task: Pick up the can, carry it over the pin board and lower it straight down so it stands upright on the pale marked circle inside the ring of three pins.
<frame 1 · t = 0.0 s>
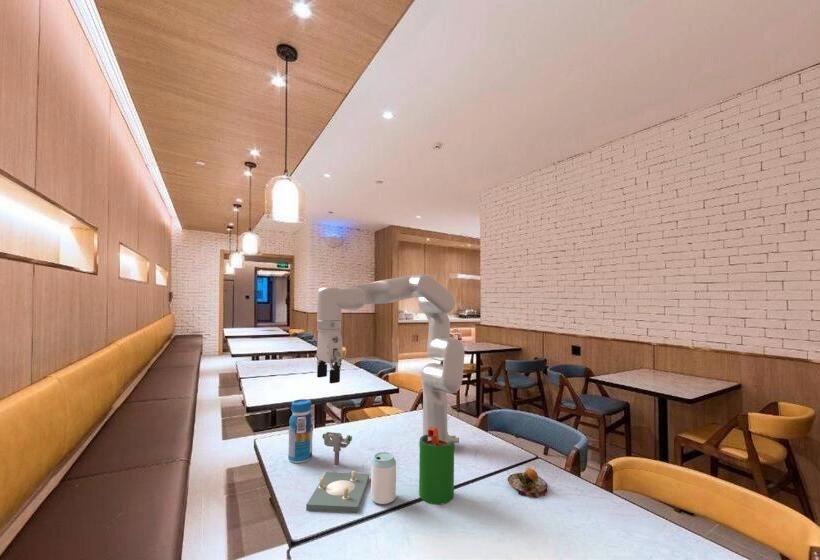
hand: (328, 379, 114), 31 cm above the table, tool pointing down, fingers open, 9 cm apart
can: (383, 499, 102), on the table
beverage bottle: (300, 459, 127), on the table
motor: (435, 496, 104), on the table
pin board: (340, 493, 105), on the table
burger: (527, 488, 109), on the table
mechanical component: (336, 464, 123), on the table
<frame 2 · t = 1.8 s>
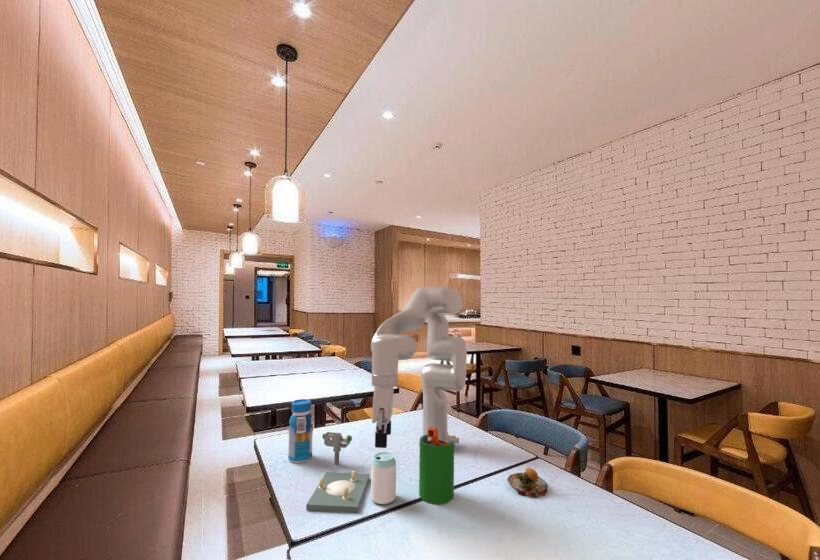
hand: (383, 440, 102), 17 cm above the table, tool pointing down, fingers open, 9 cm apart
nothing on the table moved.
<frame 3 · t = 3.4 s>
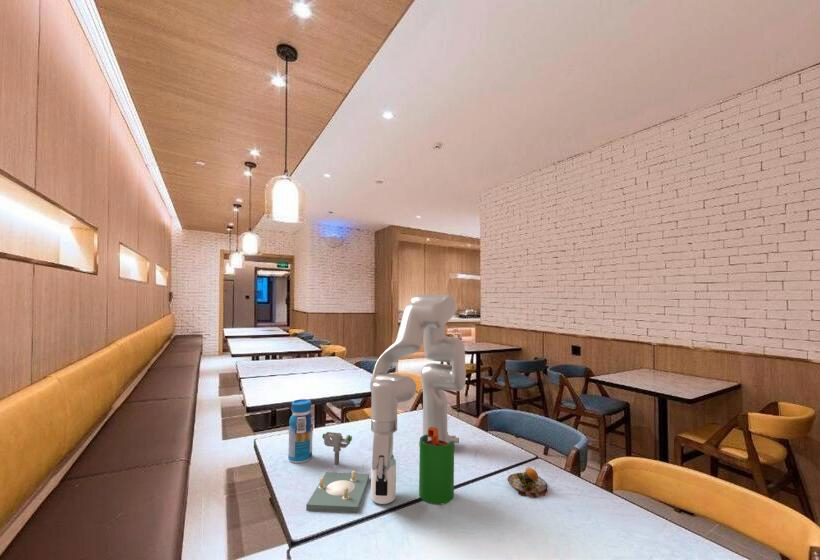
hand: (383, 487, 102), 3 cm above the table, tool pointing down, fingers closed on can, 7 cm apart
can: (383, 499, 102), on the table, touching gripper
everything else where it was.
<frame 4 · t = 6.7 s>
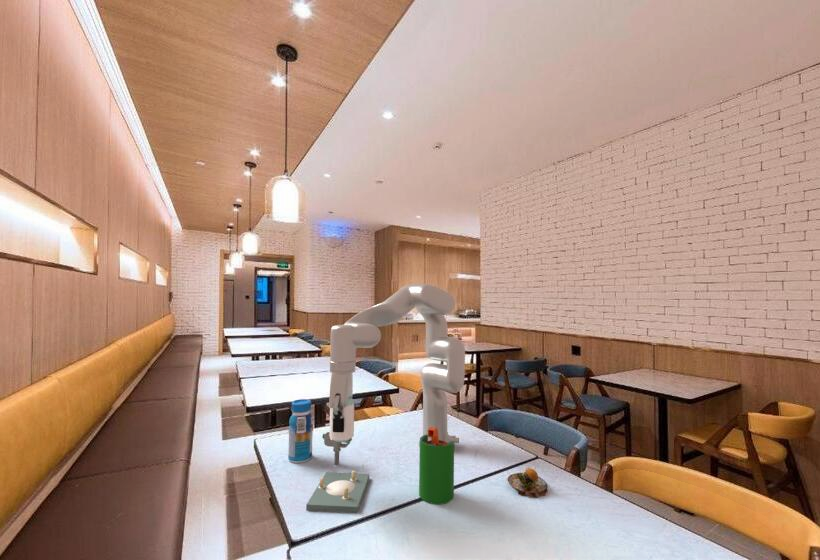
hand: (341, 426, 106), 19 cm above the table, tool pointing down, fingers closed on can, 7 cm apart
can: (341, 438, 106), point 16 cm above the table, touching gripper
everything else where it was.
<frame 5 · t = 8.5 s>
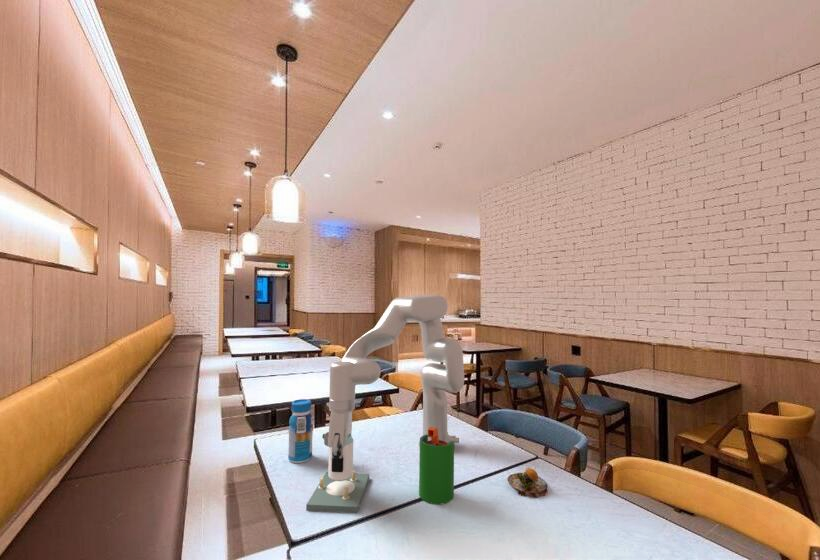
hand: (340, 464, 105), 8 cm above the table, tool pointing down, fingers closed on can, 7 cm apart
can: (340, 477, 105), point 5 cm above the table, touching gripper
everything else where it was.
when the fingers open (6 cm above the table, at t = 10.0 s): can stays where it is, resting on pin board.
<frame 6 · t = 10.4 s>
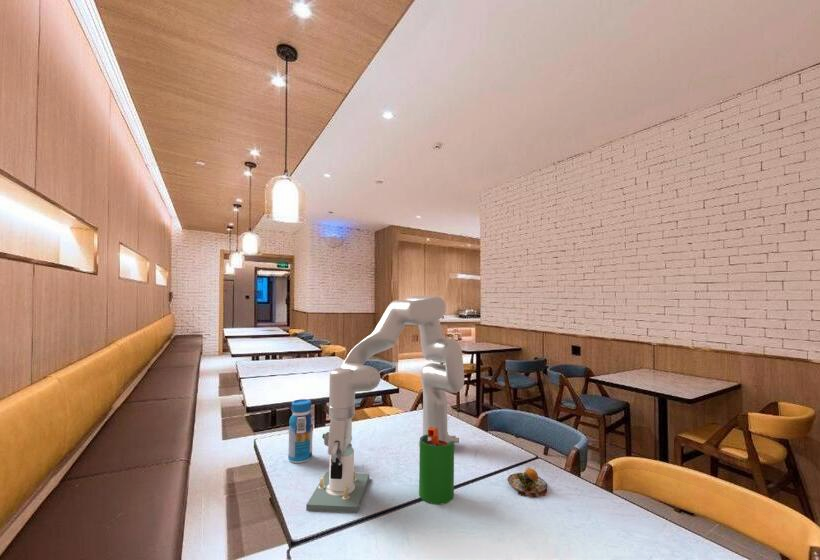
hand: (340, 470, 105), 7 cm above the table, tool pointing down, fingers open, 9 cm apart
can: (341, 487, 105), point 1 cm above the table, touching pin board
everything else where it was.
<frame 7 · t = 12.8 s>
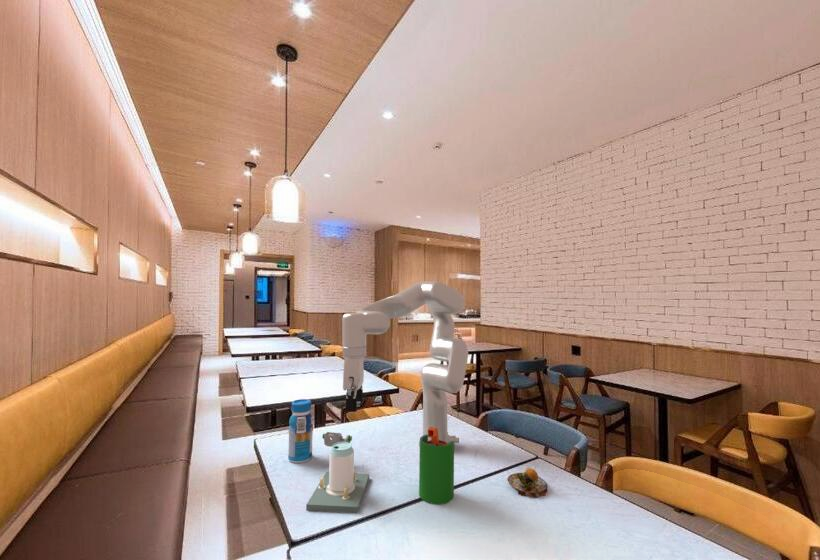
hand: (354, 406, 113), 23 cm above the table, tool pointing down, fingers open, 9 cm apart
nothing on the table moved.
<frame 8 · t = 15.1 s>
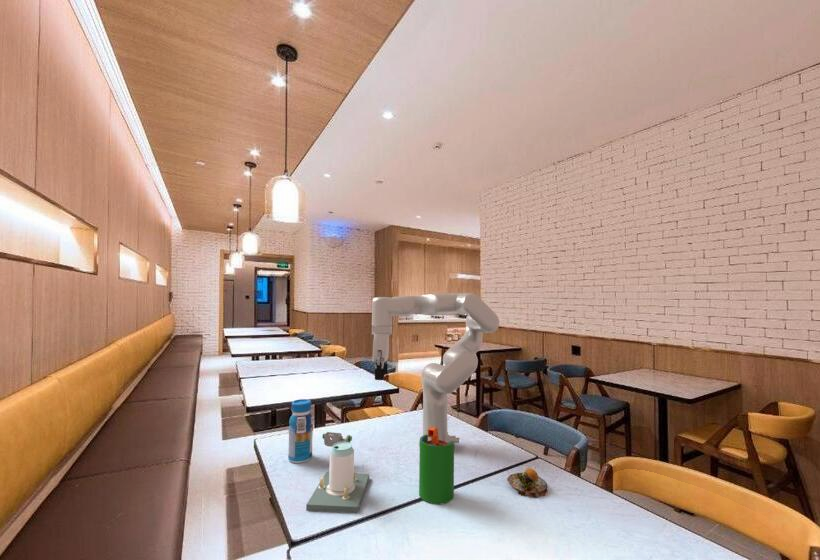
hand: (381, 376, 132), 28 cm above the table, tool pointing down, fingers open, 9 cm apart
nothing on the table moved.
at the end: can 0.3 cm from the pin board (horizontally); can tilted 0°; the gripper is holding nothing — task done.
